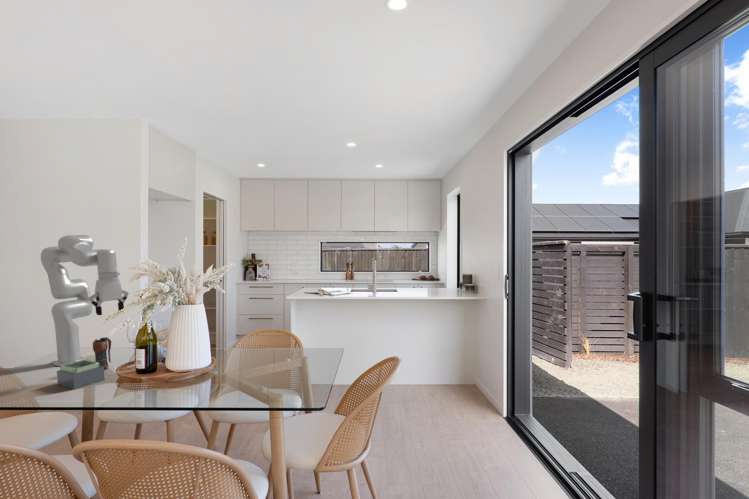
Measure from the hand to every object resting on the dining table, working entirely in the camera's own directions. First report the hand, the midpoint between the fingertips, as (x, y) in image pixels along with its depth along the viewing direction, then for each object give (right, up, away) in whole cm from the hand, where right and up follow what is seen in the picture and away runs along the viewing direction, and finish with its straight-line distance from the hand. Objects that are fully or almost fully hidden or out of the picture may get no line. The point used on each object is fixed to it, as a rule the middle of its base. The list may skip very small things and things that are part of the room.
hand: (110, 312), depth 195 cm
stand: (-5, -29, -12) cm, 31 cm away
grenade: (-8, -28, +7) cm, 30 cm away
